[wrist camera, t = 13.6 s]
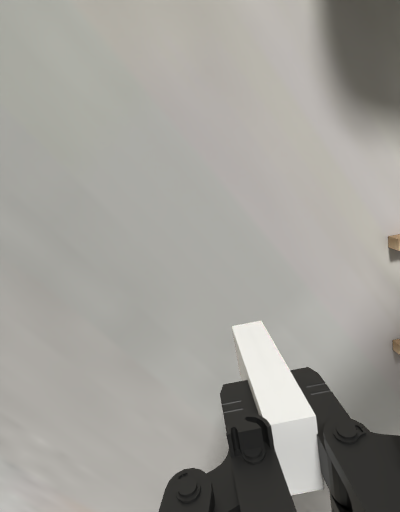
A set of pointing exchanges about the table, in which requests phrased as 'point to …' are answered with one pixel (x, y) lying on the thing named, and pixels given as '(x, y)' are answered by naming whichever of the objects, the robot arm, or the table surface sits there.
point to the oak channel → (396, 243)
